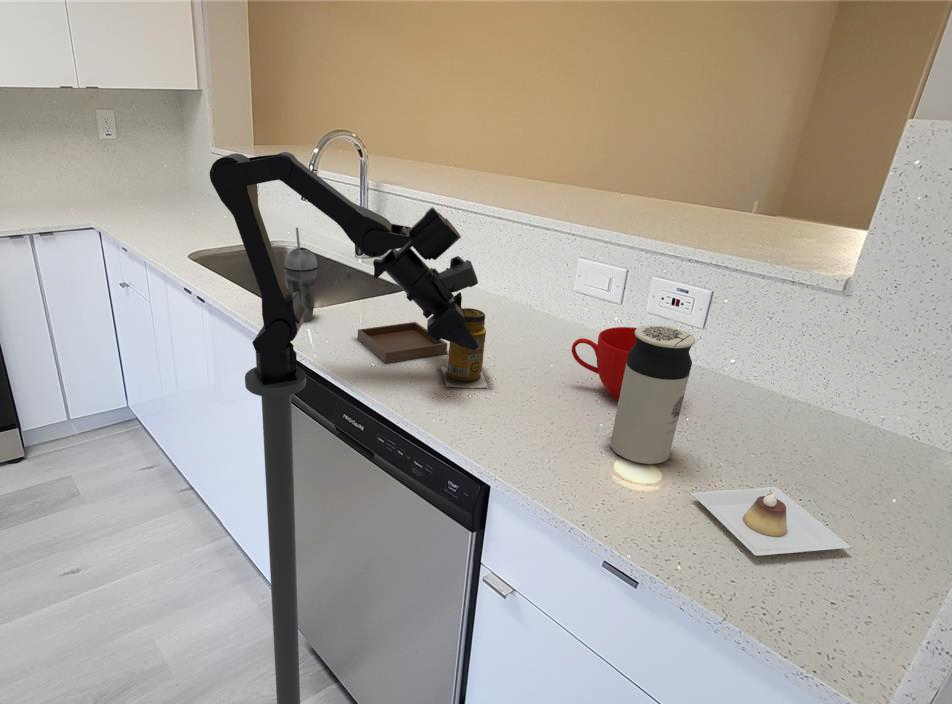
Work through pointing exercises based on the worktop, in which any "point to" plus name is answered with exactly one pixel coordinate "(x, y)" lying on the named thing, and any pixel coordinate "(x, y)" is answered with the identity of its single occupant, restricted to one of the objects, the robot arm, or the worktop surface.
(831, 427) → the worktop surface
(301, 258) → the beverage cup
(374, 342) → the tray
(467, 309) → the condiment
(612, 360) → the ceramic cup
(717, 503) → the dessert
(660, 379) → the travel mug
